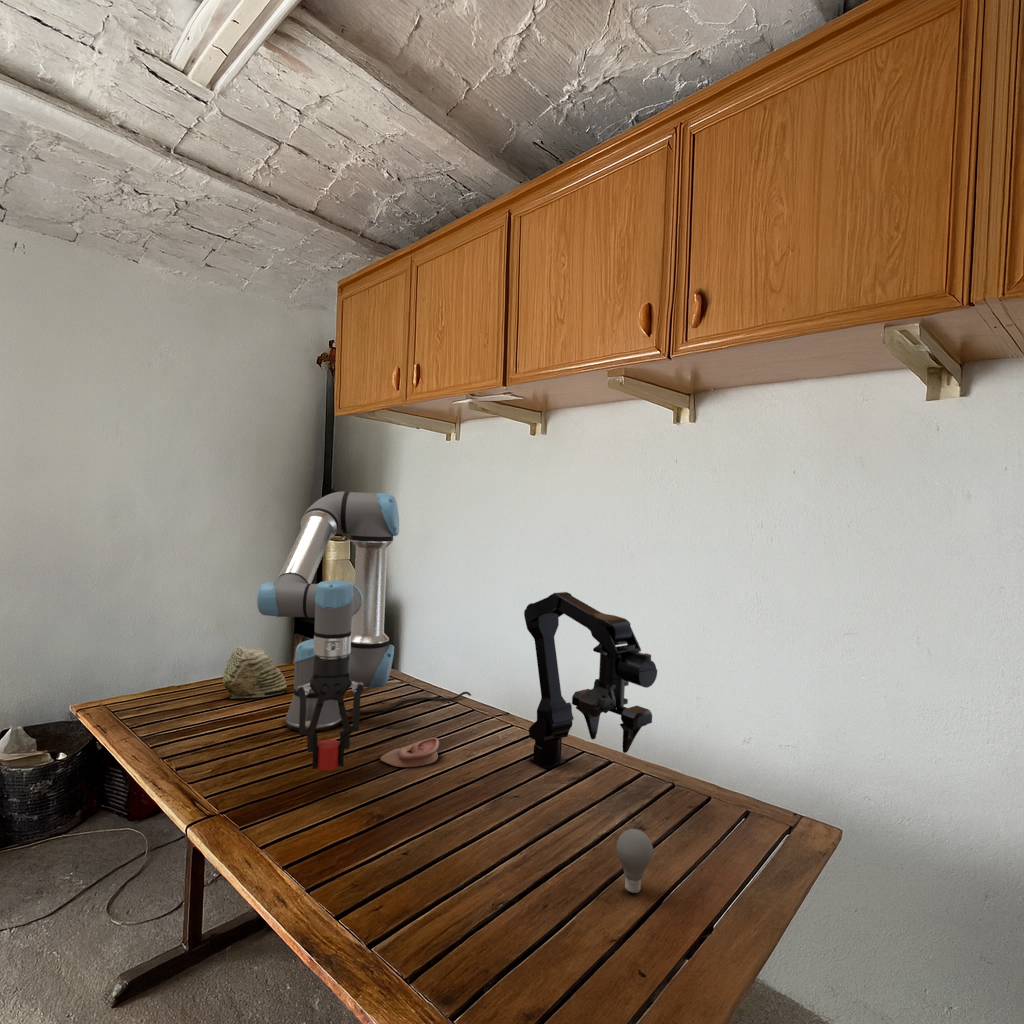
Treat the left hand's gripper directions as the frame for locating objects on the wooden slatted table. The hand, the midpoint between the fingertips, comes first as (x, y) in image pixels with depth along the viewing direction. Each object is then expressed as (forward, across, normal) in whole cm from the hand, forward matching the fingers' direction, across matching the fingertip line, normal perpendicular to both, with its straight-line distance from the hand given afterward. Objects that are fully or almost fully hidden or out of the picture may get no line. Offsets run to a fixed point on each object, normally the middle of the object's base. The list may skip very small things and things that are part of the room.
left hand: (327, 764), depth 134 cm
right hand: (-4, +59, -12) cm, 61 cm away
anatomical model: (+7, +20, +16) cm, 27 cm away
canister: (0, 0, 0) cm, 0 cm away
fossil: (+7, -19, +74) cm, 77 cm away
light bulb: (+7, +48, -45) cm, 66 cm away
